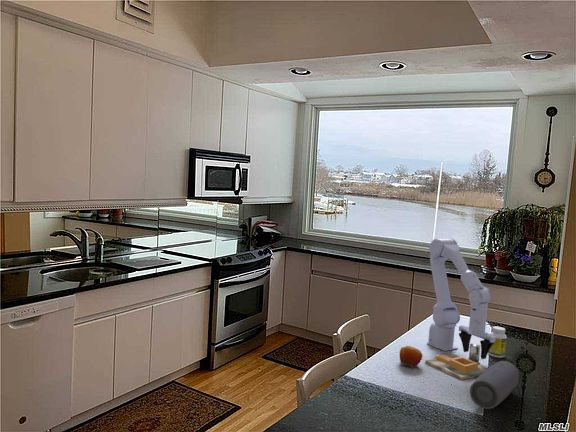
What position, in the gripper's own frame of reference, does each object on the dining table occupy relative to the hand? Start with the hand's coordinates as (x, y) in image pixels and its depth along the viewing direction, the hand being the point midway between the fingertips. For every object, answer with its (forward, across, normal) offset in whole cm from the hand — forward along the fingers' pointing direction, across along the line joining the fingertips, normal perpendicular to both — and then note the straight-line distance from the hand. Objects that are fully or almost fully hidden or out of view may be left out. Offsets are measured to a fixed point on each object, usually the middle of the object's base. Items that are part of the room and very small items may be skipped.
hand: (474, 354), depth 180 cm
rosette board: (+2, +2, -12) cm, 12 cm away
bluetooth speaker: (+3, +24, -23) cm, 33 cm away
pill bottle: (+2, 0, +14) cm, 14 cm away
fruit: (+2, -7, -27) cm, 28 cm away
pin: (+2, 0, 0) cm, 2 cm away
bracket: (+1, +1, -13) cm, 13 cm away
